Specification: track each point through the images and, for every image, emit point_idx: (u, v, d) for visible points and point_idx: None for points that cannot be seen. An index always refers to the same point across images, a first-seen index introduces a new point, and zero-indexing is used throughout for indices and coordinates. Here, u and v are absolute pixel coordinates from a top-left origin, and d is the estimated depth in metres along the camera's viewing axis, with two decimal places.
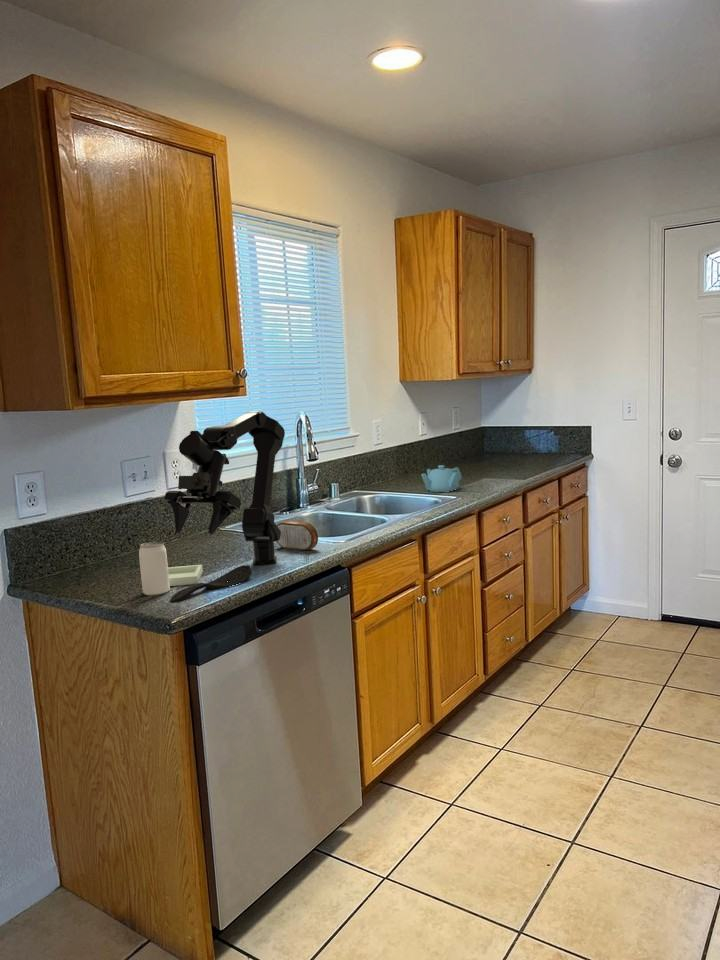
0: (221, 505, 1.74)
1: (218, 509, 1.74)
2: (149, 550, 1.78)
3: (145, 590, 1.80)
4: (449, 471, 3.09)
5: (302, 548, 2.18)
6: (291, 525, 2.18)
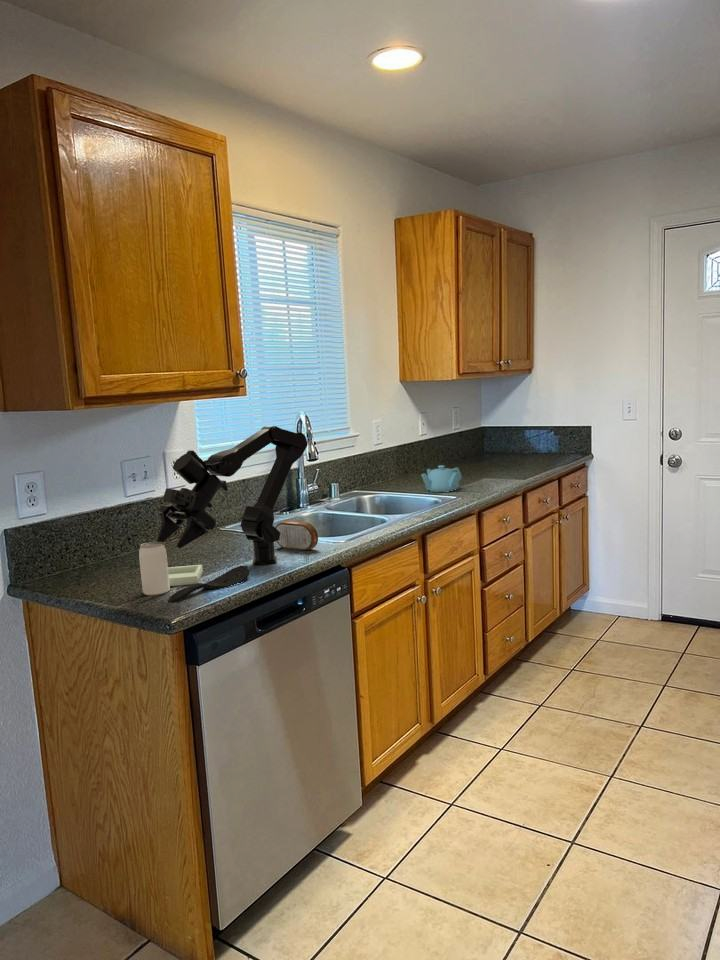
0: (193, 522, 1.80)
1: (190, 525, 1.81)
2: (149, 550, 1.78)
3: (145, 590, 1.80)
4: (449, 471, 3.09)
5: (302, 548, 2.18)
6: (291, 525, 2.18)
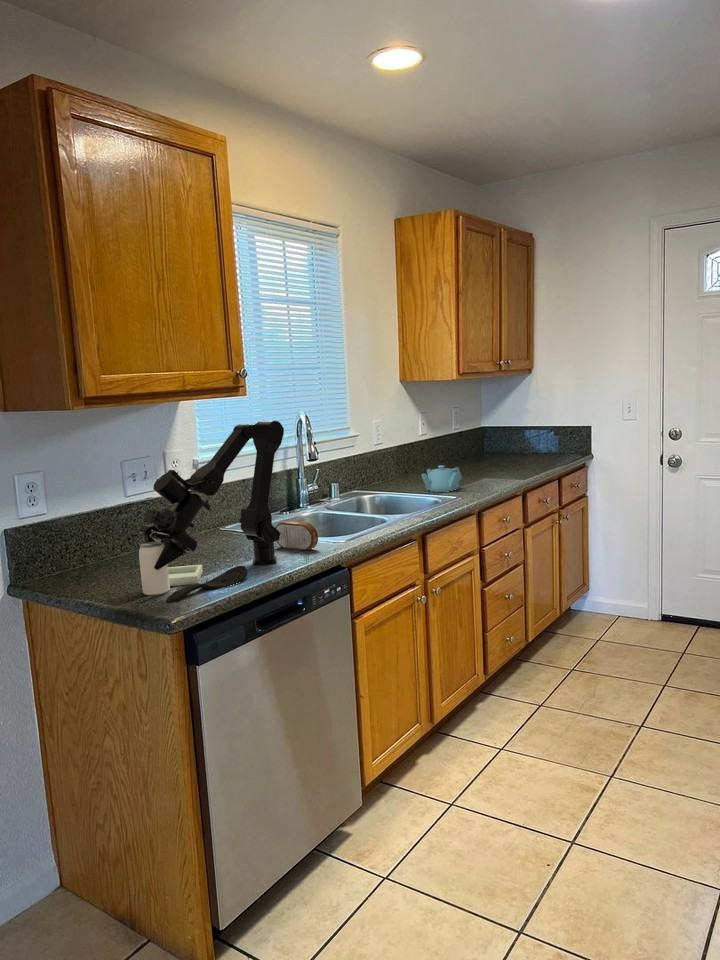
0: (170, 543, 1.78)
1: (167, 546, 1.78)
2: (149, 550, 1.78)
3: (145, 590, 1.80)
4: (449, 471, 3.09)
5: (302, 548, 2.18)
6: (291, 525, 2.18)
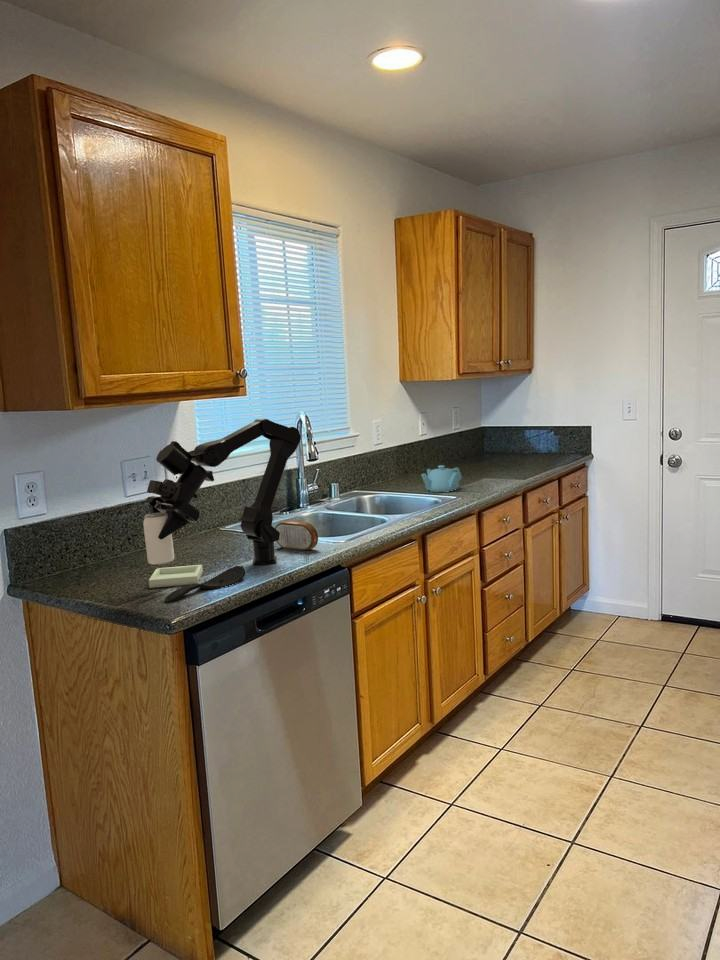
0: (173, 513, 1.80)
1: (170, 516, 1.81)
2: (152, 520, 1.81)
3: (150, 560, 1.83)
4: (449, 471, 3.09)
5: (302, 548, 2.18)
6: (291, 525, 2.18)
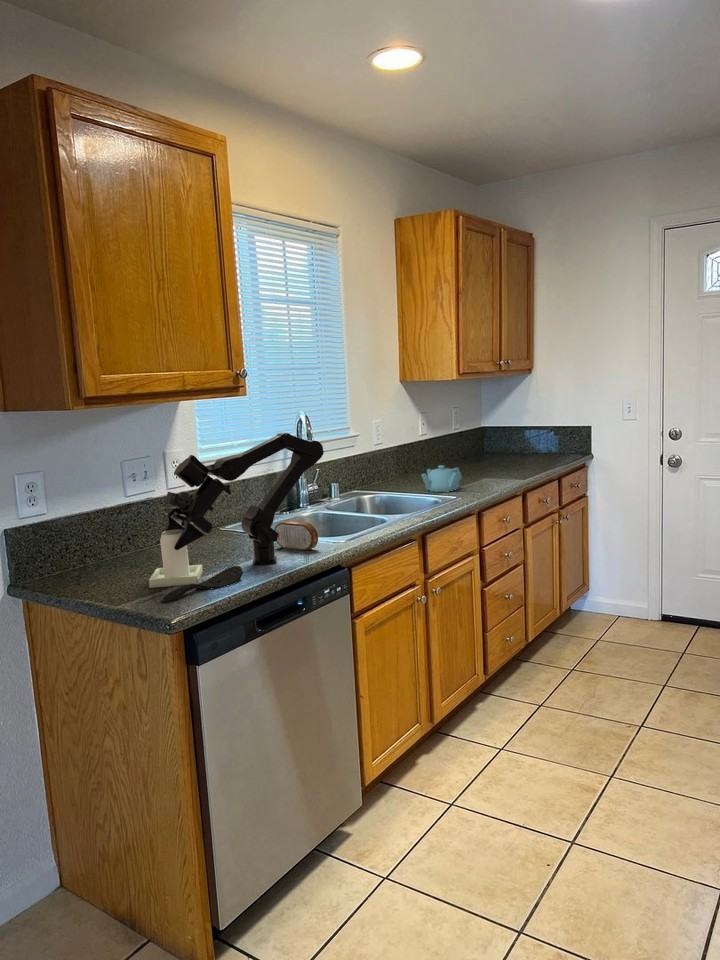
0: (189, 525, 1.86)
1: (186, 528, 1.87)
2: (167, 537, 1.89)
3: (165, 575, 1.91)
4: (449, 471, 3.09)
5: (302, 548, 2.18)
6: (291, 525, 2.18)
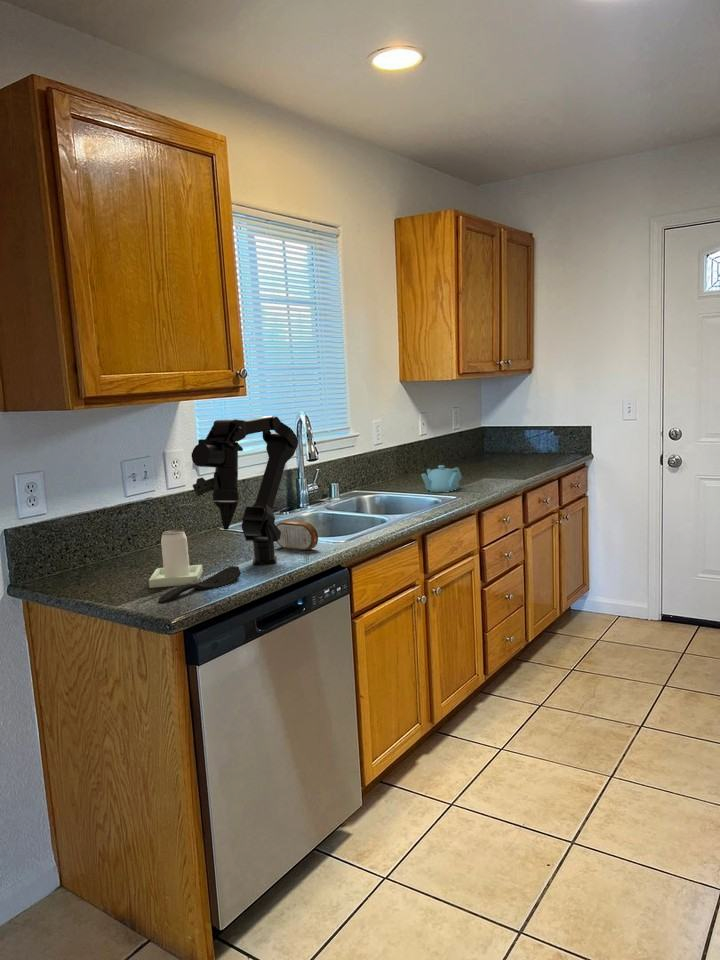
0: (217, 504, 1.83)
1: (218, 507, 1.84)
2: (168, 537, 1.89)
3: (165, 575, 1.91)
4: (449, 471, 3.09)
5: (302, 548, 2.18)
6: (291, 525, 2.18)
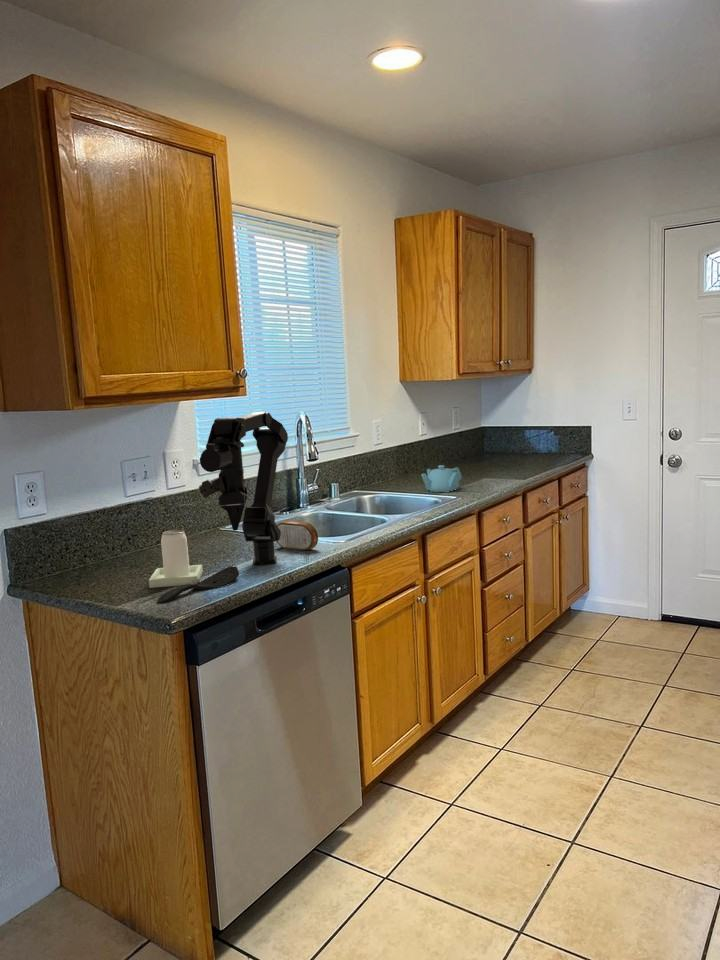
0: None
1: (226, 510, 1.84)
2: (168, 537, 1.89)
3: (165, 575, 1.91)
4: (449, 471, 3.09)
5: (302, 548, 2.18)
6: (291, 525, 2.18)
